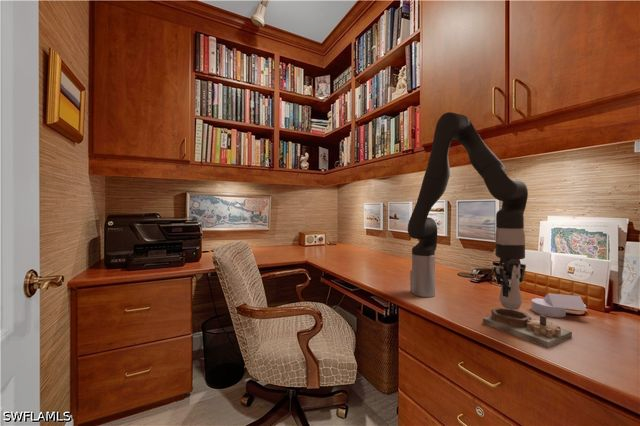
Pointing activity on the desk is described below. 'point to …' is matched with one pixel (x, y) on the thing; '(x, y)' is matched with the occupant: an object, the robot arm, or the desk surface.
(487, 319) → the peg board
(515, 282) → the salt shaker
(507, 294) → the robot arm
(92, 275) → the desk surface
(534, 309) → the wedge on round base
